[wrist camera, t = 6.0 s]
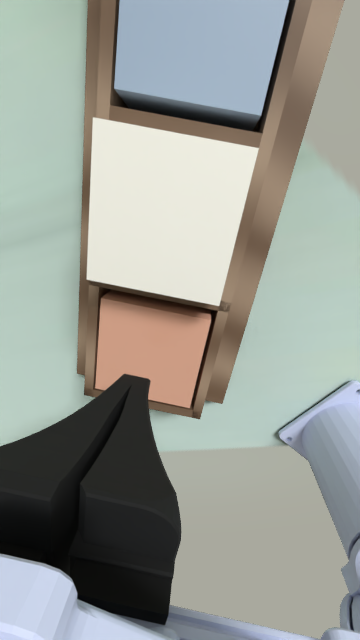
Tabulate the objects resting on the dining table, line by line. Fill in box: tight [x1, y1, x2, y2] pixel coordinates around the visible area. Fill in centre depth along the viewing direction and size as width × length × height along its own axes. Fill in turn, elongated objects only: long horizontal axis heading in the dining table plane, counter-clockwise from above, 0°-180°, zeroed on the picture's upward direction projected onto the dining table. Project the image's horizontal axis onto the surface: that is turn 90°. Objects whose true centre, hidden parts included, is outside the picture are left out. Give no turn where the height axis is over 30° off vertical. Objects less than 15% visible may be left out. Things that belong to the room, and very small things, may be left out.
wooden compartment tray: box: [77, 0, 344, 419], centre depth 16 cm, size 26×12×4 cm, turn 170°
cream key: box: [87, 117, 259, 306], centre depth 13 cm, size 6×6×3 cm
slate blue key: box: [114, 0, 289, 131], centre depth 12 cm, size 6×6×3 cm
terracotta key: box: [95, 289, 211, 408], centre depth 18 cm, size 6×6×3 cm
